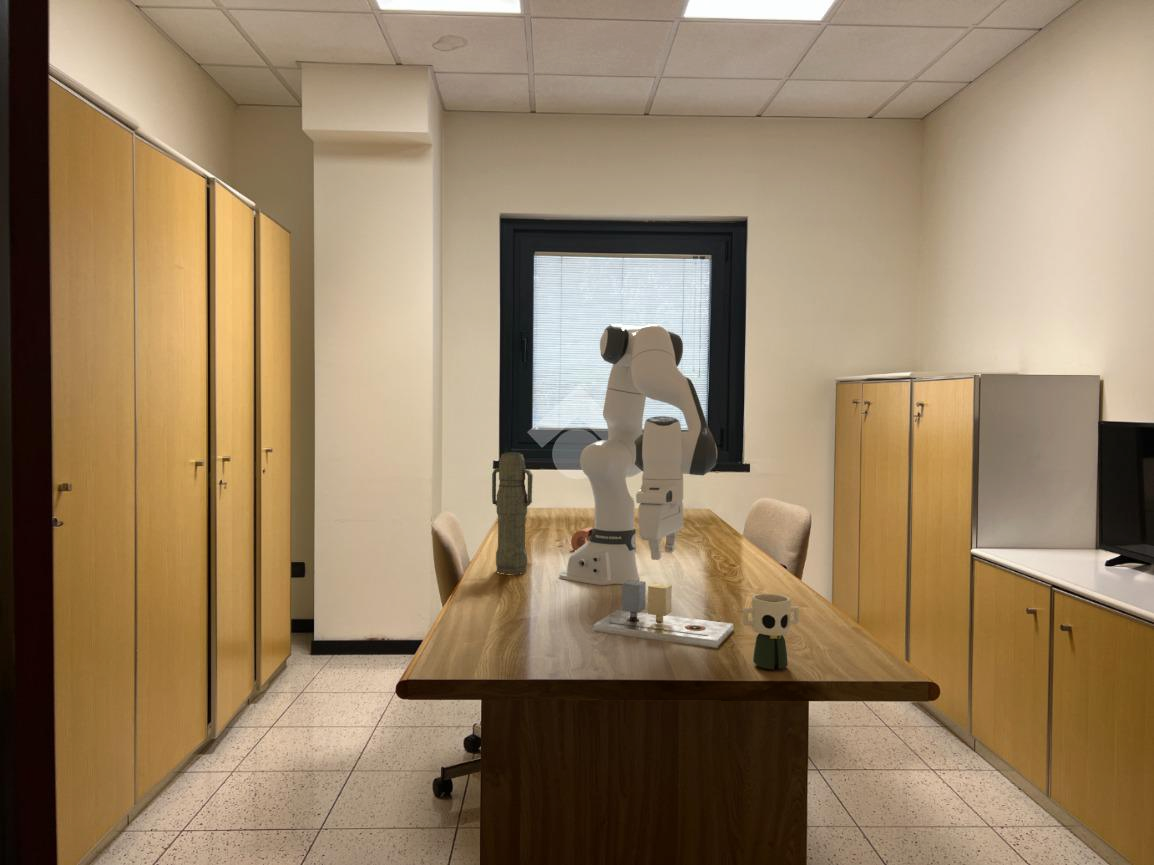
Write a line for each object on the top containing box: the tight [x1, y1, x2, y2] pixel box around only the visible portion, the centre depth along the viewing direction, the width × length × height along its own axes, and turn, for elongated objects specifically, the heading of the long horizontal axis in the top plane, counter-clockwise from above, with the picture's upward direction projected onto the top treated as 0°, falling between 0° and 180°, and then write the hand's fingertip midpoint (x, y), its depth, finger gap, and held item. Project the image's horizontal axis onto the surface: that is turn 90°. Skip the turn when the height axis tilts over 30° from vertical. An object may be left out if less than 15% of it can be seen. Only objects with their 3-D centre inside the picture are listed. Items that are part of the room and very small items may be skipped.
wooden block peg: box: [647, 582, 673, 623], centre depth 172 cm, size 4×4×8 cm
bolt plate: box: [593, 580, 734, 649], centre depth 172 cm, size 27×14×10 cm, turn 65°
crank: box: [570, 526, 637, 552], centre depth 264 cm, size 20×8×8 cm, turn 68°
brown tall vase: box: [491, 451, 534, 575], centre depth 229 cm, size 9×12×35 cm
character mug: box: [742, 593, 800, 670], centre depth 148 cm, size 11×7×13 cm, turn 97°
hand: (663, 555), depth 172 cm, fingers open, 8 cm apart
